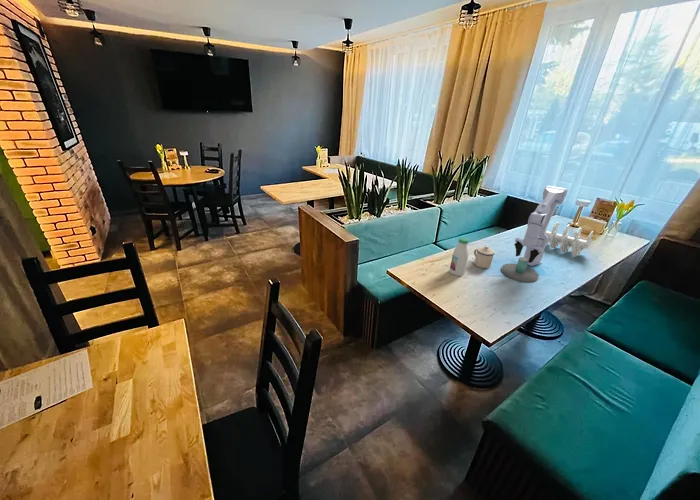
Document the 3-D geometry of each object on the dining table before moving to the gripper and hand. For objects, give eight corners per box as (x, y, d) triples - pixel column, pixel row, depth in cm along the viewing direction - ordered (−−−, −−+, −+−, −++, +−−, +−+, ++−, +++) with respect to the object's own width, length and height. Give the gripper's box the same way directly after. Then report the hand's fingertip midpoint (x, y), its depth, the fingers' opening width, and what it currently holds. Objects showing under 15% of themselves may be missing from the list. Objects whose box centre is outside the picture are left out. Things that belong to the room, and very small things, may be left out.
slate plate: (516, 262, 170) (517, 261, 169) (545, 278, 155) (546, 276, 155) (493, 268, 163) (494, 266, 163) (521, 285, 149) (522, 283, 148)
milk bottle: (464, 270, 160) (471, 237, 151) (464, 277, 154) (472, 243, 145) (449, 268, 163) (456, 235, 154) (448, 274, 156) (455, 241, 147)
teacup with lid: (494, 267, 165) (499, 248, 159) (482, 270, 161) (487, 251, 156) (478, 257, 174) (482, 240, 169) (466, 260, 171) (470, 242, 166)
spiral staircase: (541, 248, 197) (585, 261, 179) (533, 243, 185) (580, 257, 167) (552, 222, 195) (598, 233, 177) (545, 216, 183) (594, 227, 165)
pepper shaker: (518, 268, 161) (522, 256, 158) (525, 272, 158) (530, 259, 154) (513, 270, 160) (517, 257, 156) (520, 274, 156) (524, 261, 153)
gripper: (513, 231, 154) (507, 254, 160) (539, 242, 142) (530, 266, 148) (523, 229, 156) (516, 252, 162) (549, 240, 144) (540, 264, 150)
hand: (523, 258), depth 155 cm, fingers open, 7 cm apart
